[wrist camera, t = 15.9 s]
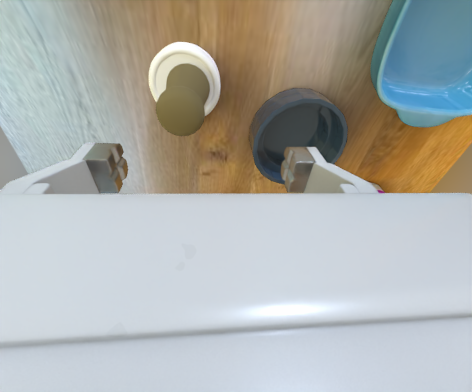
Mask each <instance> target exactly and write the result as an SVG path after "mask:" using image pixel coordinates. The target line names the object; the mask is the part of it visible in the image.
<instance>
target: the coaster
mask: <svg viewBox="0 0 472 392" xmlns="http://www.w3.org/2000/svg"><path fill="white" fill-rule="evenodd" d="M186 63H189V64H192V65H195V66H197V67H198V68H200V69H201V70H202V71H203V72H204V74H205V75H206V76H207V79H208V81H209V85H210V93H209V97H208V99H207V101H206V103H205V105H204V109H205V116H206V115H208V114H209V113H210V112H211V111H212V110H213V109H214V107H215V106H216V104H217V102H218V100H219V96H220V88H221V85H220V75H219V71H218V68H217V66H216V64H215V62H214V60H213V59H212V58H211V56H210V55H209V54H208V53H207V52H206V51H205V50H203V49H202V48H200V47H199V46H197V45H194V44H192V43H187V42H176V43H173V44H170V45H168V46H166V47H165V48H163V49H162V50H161V51H160V52H159V53H158V54H157V55H156V56H155V58H154V59H153V61H152V63H151V66H150V70H149V85H150V89H151V93H152V95H153V97H154V99H155V101H156V102H157V101H158V98H159V96H160V95H161V94H162V93H163V92H164V91H165V90H166V82H167V77H168V74H169V72H170V71H171V70H172V69H173V68H174V67H175V66H177V65H179V64H186Z"/></svg>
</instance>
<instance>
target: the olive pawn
mask: <svg viewBox="0 0 472 392" xmlns="http://www.w3.org/2000/svg"><path fill="white" fill-rule="evenodd" d="M209 93H210V85H209V81H208V79H207V76H206V75H205V74H204V72H203V71H202V70H201V69H200V68H198V67H197V66H195V65H192V64H189V63H186V64H179V65H177V66H175V67H174V68H173V69H172V70H171V71H170V72H169V74H168V77H167V82H166V90H165V91H164V92H163V93H162V94H161V95H160V96H159V98H158V101H157V103H156V113H157V117H158V120H159V122H160V123H161V125H162V126H163V127H164V128H165V129H166V130H167V131H168V132H170V133H172V134H174V135H178V136H188V135H191V134H194V133H195V132H196V131H197V130H199V129H200V127H201V125H202V124H203V122H204V117H205V109H204V105H205V103H206V101H207V99H208V97H209Z"/></svg>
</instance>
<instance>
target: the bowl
mask: <svg viewBox="0 0 472 392" xmlns="http://www.w3.org/2000/svg"><path fill="white" fill-rule="evenodd" d="M347 132H348V127H347V124H346V120H345V117H344V115H343V114H342V112H341V111H340V110H339V109H338V108H337V107H336V106H335V105H334V104H333V103H332V102H331V101H329V100H328V99H327V98H326V97H325V96H324V95H323V94H321V93H318V92H316V91H314V90H312V89H305V88H293V89H290V90H287V91H283V92H280V93H278V94H277V95H275V96H274V97H272V98H271V99H269V100H268V101H266V102H265V103H264V105H263V106H262V107H261V108H260V109H259V110H258V112H257V113H256V115H255V117H254V119H253V121H252V124H251V127H250V135H249V141H250V145H251V149H252V153H253V157H254V161H255V165H256V167H257V168H258V169H259V171H260V172H261V174H262V175H264V176H265V177H267V178H268V179H270V180H271V181H274V182H277V183H281V184H285V180H283V179H282V177H281V165H282V162H283V161H284V160H285V156H284V151H285V149H286V147H316V148H317V149H318V151H319V152H320V154H321V155H322V156H323V158H324V159H325V161H326V162H327V163H331V164H333V165H334V164H335V162H336V161H337V160H338V158H339V157H340V156H341V154H342V152H343V149H344V147H345V145H346V142H347Z"/></svg>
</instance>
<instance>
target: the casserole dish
mask: <svg viewBox="0 0 472 392" xmlns="http://www.w3.org/2000/svg"><path fill="white" fill-rule="evenodd" d="M371 79H372V83H373V85H374V88H375V90H376V91H377V94H378V96H379V98H380V100H381V101H382V102H383V103H384V104H386V105H388V106H389V107H391V108H393V109H395V110H396V111H397V114H398V116H399V118H400V120H401V121H402V122H403V123H405V124H407V125H410V126H415V127H433V126H438V125H441V124H443V123H446V122H448V121H450V120H452V119H454V118H456V117H460V116H467V115H472V0H393V1H392V3H391V6H390V8H389V10H388V13H387V15H386V18H385V20H384V23H383V25H382V28H381V31H380V33H379V36H378V39H377V42H376V45H375V48H374V52H373V56H372V61H371Z"/></svg>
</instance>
